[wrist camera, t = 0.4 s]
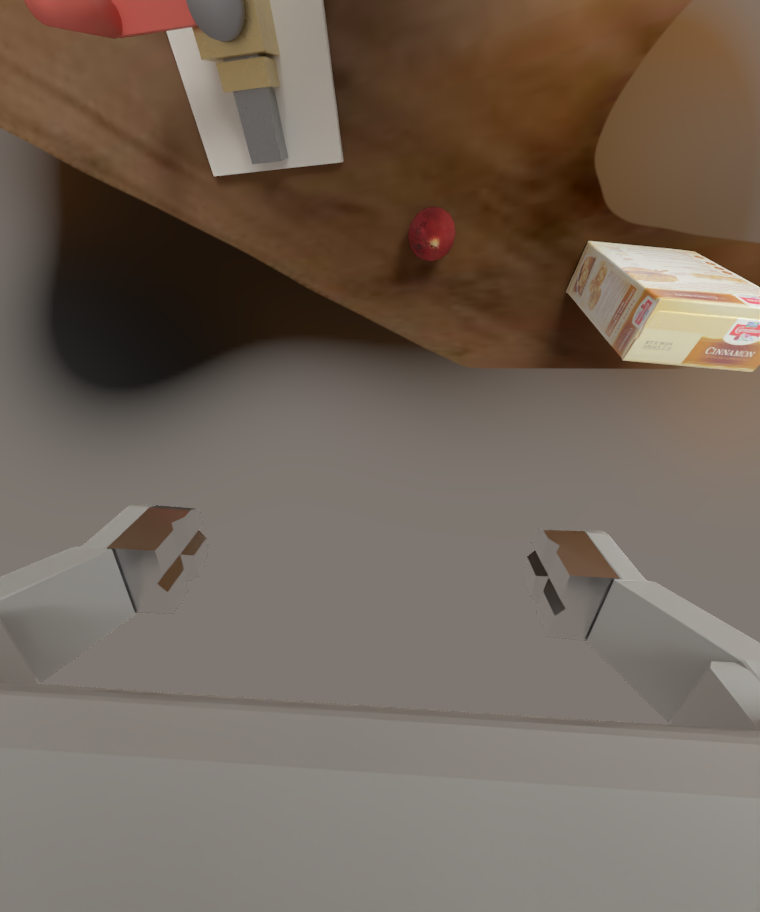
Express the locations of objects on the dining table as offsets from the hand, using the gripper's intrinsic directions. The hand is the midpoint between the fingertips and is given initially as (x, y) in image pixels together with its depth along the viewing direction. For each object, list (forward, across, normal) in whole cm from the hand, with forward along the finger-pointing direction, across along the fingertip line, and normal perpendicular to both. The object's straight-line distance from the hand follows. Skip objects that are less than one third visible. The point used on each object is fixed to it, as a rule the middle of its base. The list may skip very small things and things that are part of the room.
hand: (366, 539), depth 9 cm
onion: (+50, -5, -12) cm, 52 cm away
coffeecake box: (+52, -33, -8) cm, 62 cm away
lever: (+38, +20, -25) cm, 50 cm away
